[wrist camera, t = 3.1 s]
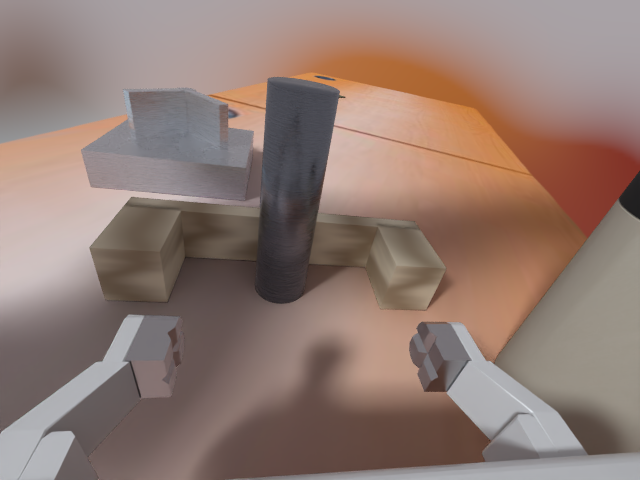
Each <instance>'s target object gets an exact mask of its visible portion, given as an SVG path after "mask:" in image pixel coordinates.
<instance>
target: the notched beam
mask: <svg viewBox="0 0 640 480" xmlns="http://www.w3.org/2000/svg"><path fill="white" fill-rule="evenodd" d="M259 213H260V208H253V207H242V206H230V205H219V204H207V203H196V202H184V201H172V200H161V199H149V198H138V197H131V198H130V199H129V200H128V202H127V203H126V204H125V205H124V206H123V208H122V209H121V210H120V211H119V213H118V214H117V215H116V216H115V217H114V219H113V220H112V221H111V222H110V223H109V225H108V226H107V227H106V228H105V229H104V231H103V232H102V233H101V234H100V235H99V237H98V238H97V239H96V240H95V241H94V243H93V244H92V245H91V246H90V247H89V248H90V251H91V255H92V258H93V261H94V265H95V268H96V271H97V274H98V278H99V281H100V284H101V287H102V291H103V294H104V297H105V300H114V301H146V302H168V300H169V297H170V294H171V292H172V289H173V287H174V284H175V282H176V279H177V277H178V274H179V271H180V269H181V266H182V264H183V261H184V259H185V257H195V258H213V259H231V260H248V261H257V246H258V229H259ZM309 264H319V265H337V266H355V267H365V268H366V271H367V273H368V276H369V279H370V282H371V285H372V287H373V290H374V293H375V296H376V299H377V302H378V304H379V307H380V309H400V310H426V309H427V307H428V305H429V303H430V301H431V299H432V297H433V295H434V293H435V291H436V289H437V287H438V285H439V283H440V281H441V279H442V277H443V275H444V273H445V271H446V269H447V268H446V267H445V265H444V264H443V262H442V261H441V259H440V258H439V257H438V255H437V254H436V252H435V251H434V249H433V248H432V246H431V245H430V243H429V242H428V240H427V239H426V237H425V236H424V235H423V233H422V232H421V230H420V229H419V227H418V226H417V224H416V223H415V221H404V220H392V219H380V218H369V217H357V216H346V215H334V214H323V213H318V215H317V221H316V226H315V232H314V238H313V243H312V249H311V254H310V260H309Z"/></svg>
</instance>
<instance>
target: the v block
mask: <svg viewBox="0 0 640 480" xmlns="http://www.w3.org/2000/svg"><path fill="white" fill-rule="evenodd" d="M123 92H124V98H125V104H126V109H127V115H128V120H126V121H124V122H123V123H121V124H120V125H118V126H117V127H115V128H114V129H112V130H111V131H109V132H108V133H106V134H105V135H103V136H102V137H100V138H99V139H97V140H96V141H94V142H93V143H91V144H89V145H88V146H86V147H85V148H83V149H82V150H81V152H82V156H83V160H84V163H85V167H86V171H87V175H88V178H89V182H90V186H91V187H98V188H110V189H121V190H132V191H143V192H154V193H165V194H176V195H187V196H198V197H210V198H221V199H232V200H243V201H245V196H246V191H247V185H248V180H249V174H250V169H251V163H252V158H253V136H254V131H249V130H242V129H234V128H228V104H226V103H224V102H221V101H219V100H216V99H214V98H211V97H209V96H206V95H204V94H201V93H199V92H196V90H193V89H191V88H175V89H123Z"/></svg>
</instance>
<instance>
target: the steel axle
mask: <svg viewBox="0 0 640 480" xmlns="http://www.w3.org/2000/svg"><path fill="white" fill-rule="evenodd" d="M339 93H340V91H339V90H338V89H336V88H334V87H331V86H328V85H325V84H321V83H317V82H312V81H307V80H302V79H295V78H285V77H273V78H268V83H267V99H266V115H265V132H264V148H263V164H262V181H261V197H260V213H259V229H258V246H257V262H256V278H255V288H256V291H257V293H258V294H259V295H260V296H261V297H262V298H264V299H265V300H267V301H270V302H273V303H289V302H293V301H295V300H297V299H298V298H299V297H301V295H302V294H303V292H304V288H305V282H306V277H307V271H308V265H309V260H310V254H311V249H312V243H313V238H314V232H315V226H316V221H317V215H318V210H319V204H320V199H321V193H322V188H323V182H324V176H325V171H326V165H327V160H328V154H329V149H330V143H331V138H332V132H333V126H334V121H335V115H336V110H337V104H338V99H339Z"/></svg>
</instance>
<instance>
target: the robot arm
mask: <svg viewBox="0 0 640 480" xmlns="http://www.w3.org/2000/svg"><path fill="white" fill-rule="evenodd" d="M182 325H183V322H182V317H177V316H156V315H128V316H127V317H126V318H125V319H124V321H123V322H122V324H121V326H120V328H119V330H118V332H117V334H116V336H115V338H114V340H113V342H112V344H111V346H110V348H109V349H108V351H107V353H106V355H105V357H104V359H103V361H101V362H95V363H94V364H93V365H91V366H90V367H89V368H87V369H86V370H85V371H83V372H82V373H80V374H79V375H78V376H76V377H75V378H74V379H72V380H71V381H70V382H68V383H67V384H66V385H64V386H63V387H61V388H60V389H59V390H57V391H56V392H55V393H53V394H52V395H51V396H49V397H48V398H47V399H45V400H44V401H42V402H41V403H40V404H38V405H37V406H36V407H34V408H33V409H32V410H30V411H29V412H28V413H26V414H25V415H23V416H22V417H21V418H19V419H18V420H17V421H15V422H14V423H13V424H11V425H10V426H9V427H7V428H6V429H4V430H3V431H2V432H1V433H0V480H98V476H97V474H96V472H95V470H94V469H93V467H92V465H91V463H90V462H89V460H88V458H87V457H88V456H89V455H90V454H91V453H92V452H93V451H94V450H95V449H96V448H97V447H98V445H99V444H100V443H101V442H102V441H103V440H104V439H105V438H106V437H107V436H108V435H109V434H110V433H111V431H112V430H113V429H114V428H115V427H116V426H117V425H118V424H119V423H120V422H121V421H122V420H123V419H124V418H125V416H126V415H127V414H128V413H129V412H130V411H131V410H132V409H133V408H134V407H135V406H136V405H137V404H138V402H139V401H140V398H161V397H171V395H172V392H173V388H174V385H175V382H176V378H177V373H176V367H177V366H178V365H179V364H180V363H181V360H182V357H183V351H184V341H185V338H184V333H183V332H182V331H181V329H182ZM416 329H417V331H418V333H417V334H415V335H414V336H413V337H412V339H411V341H410V346H409V351H410V356H411V359H412V362H413V363H414V364H415V365H416V366H417V367H418V368H419V370H418V377H419V379H420V382H421V384H422V387H423V389H424V392H447V394H448V395H449V396H450V398H451V399H452V400H453V401H454V402H455V403H456V404H457V405H458V406H459V407H460V408H461V409H462V410H463V411H464V413H465V414H466V415H467V416H468V417H469V418H470V419H471V420H472V421H473V422H474V423H475V424H476V425H477V427H478V428H479V429H480V430H481V431H482V432H483V433H484V434H485V435H486V436H487V437H488V438H489V439H490V441H491V443H490V444H489V445H488V446H487V447H486V448H485V449H484V450H483V452H482V455H483V457H484V459H485V462H480V463H465V464H450V465H436V466H421V467H406V468H391V469H376V470H361V471H346V472H331V473H316V474H301V475H286V476H271V477H256V478H241V479H227V480H640V452H630V453H615V454H600V455H588V454H587V452H586V451H585V450H584V448H583V447H582V445H581V444H580V443H579V441H578V440H577V438H576V437H575V436H574V434H573V433H572V431H571V430H570V429H569V427H568V426H567V424H566V423H565V422H564V420H563V419H562V417H561V416H560V415H559V413H558V412H557V411H556V410H554V409H553V408H552V407H550V406H549V405H548V404H546V403H545V402H544V401H542V400H541V399H540V398H538V397H537V396H536V395H534V394H533V393H532V392H530V391H529V390H528V389H526V388H525V387H524V386H522V385H521V384H520V383H518V382H517V381H516V380H514V379H513V378H512V377H510V376H509V375H508V374H506V373H505V372H504V371H503V370H501V369H500V368H499V367H497V366H496V365H495V364H493V363H492V362H491V361H486V360H485V358H484V357H483V355H482V353H481V352H480V350H479V349H478V347H477V345H476V344H475V342H474V340H473V339H472V337H471V336H470V334H469V332H468V331H467V329H466V328H465V326H464V325H463V324H462V323H461V322H421V323H419V324H418V326H417V328H416Z"/></svg>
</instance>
